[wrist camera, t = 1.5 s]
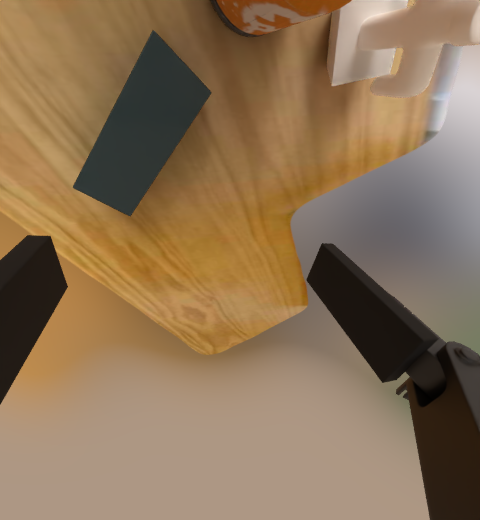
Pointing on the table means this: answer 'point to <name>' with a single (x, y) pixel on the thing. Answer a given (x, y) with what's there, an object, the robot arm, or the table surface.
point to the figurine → (397, 41)
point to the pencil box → (142, 128)
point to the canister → (270, 13)
